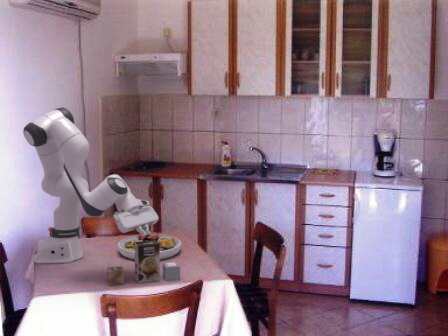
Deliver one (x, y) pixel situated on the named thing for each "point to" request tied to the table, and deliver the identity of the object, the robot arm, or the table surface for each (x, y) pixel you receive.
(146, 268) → the coffee box
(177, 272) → the grey block
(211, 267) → the table surface
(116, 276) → the brown cube
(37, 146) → the robot arm
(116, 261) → the table surface
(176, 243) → the bowl
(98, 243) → the table surface
